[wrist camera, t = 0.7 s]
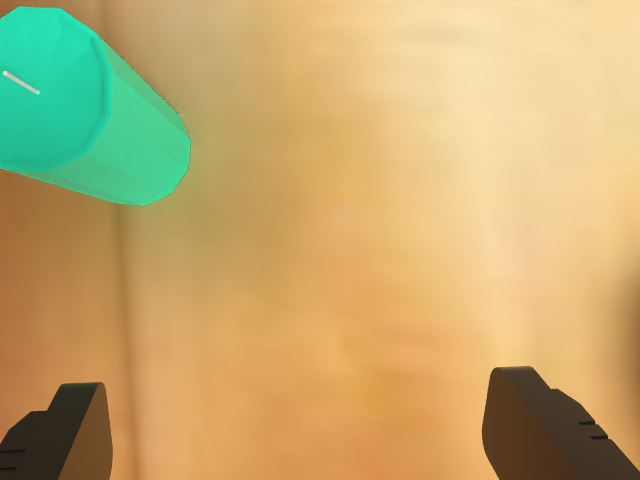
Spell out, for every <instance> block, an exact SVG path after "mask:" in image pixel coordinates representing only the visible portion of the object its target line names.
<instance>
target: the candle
mask: <svg viewBox="0 0 640 480" xmlns="http://www.w3.org/2000/svg"><path fill="white" fill-rule="evenodd" d="M190 146H191V140H190V138H189V135H188V133H187V131H186V129H185V127H184V125H183V122H182V120H181V118H180V116H179V114H178V113H177V112H176V111H175V110H174V109H173V108H172V107H171V106H170V105H169V104H168V103H167V102H165V101H164V100H163V99H162V98H161V97H160V96H159V95H158V94H157V93H156V92H155V91H154V90H153V89H152V88H151V87H150V86H149V85H148V84H147V83H146V82H145V81H144V80H143V79H142V78H141V77H140V76H139V75H138V74H137V73H136V72H135V71H134V70H133V69H132V68H131V67H130V66H129V65H128V64H127V63H126V62H125V61H124V60H123V59H122V58H121V57H120V56H119V55H118V54H117V53H116V52H115V51H114V50H113V49H112V48H111V47H110V46H109V45H108V44H107V43H106V42H105V41H104V40H103V39H102V38H101V37H100V36H99V35H98V34H97V33H95V32H94V31H93V30H91V29H90V28H88V27H87V26H85V25H84V24H82V23H81V22H80V21H78V20H77V19H75V18H74V17H72V16H71V15H69V14H68V13H67V12H65V11H64V10H62V9H61V8H43V7H21V6H18V7H17V8H15V9H14V10H12V11H11V12H9V13H8V14H6V15H5V16H4V17H2V18H1V19H0V168H1V169H3V170H6V171H10V172H13V173H16V174H20V175H23V176H26V177H30V178H33V179H36V180H39V181H43V182H46V183H49V184H53V185H56V186H59V187H63V188H66V189H69V190H72V191H76V192H79V193H82V194H86V195H89V196H92V197H96V198H99V199H102V200H105V201H109V202H112V203H115V204H126V205H138V206H146V205H148V204H150V203H152V202H155V201H157V200H159V199H161V198H163V197H165V196H167V195H169V194H171V193H172V192H173V191H174V189H175V188H176V186H177V185H178V183H179V182H180V181H181V179H182V178H183V176H184V175H185V173H186V172H187V171H188V167H189V156H190Z"/></svg>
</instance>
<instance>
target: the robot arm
mask: <svg viewBox="0 0 640 480" xmlns="http://www.w3.org/2000/svg"><path fill="white" fill-rule="evenodd" d="M482 440H483V446H484V450H485V453H486V456H487V458H488V460H489V462H490V463H491V465H492V467H493V469H494V471H495V472H496V474H497V476H498V478H499V480H640V472H639V470H638V469H637V468H636V467H635V466H634V465H633V464H632V462H631V461H630V460H629V459H628V458H627V457H626V456H625V454H624V453H623V452H622V451H621V450H620V449H619V448H618V446H617V445H616V444H615V443H614V442H613V441H612V440H611V439H608V435H607V434H606V433H605V432H604V430H603V429H602V428H601V427H600V426H599V425H596V424H595V420H594V419H593V418H592V417H591V416H590V414H589V413H588V412H587V411H586V410H585V409H584V408H583V406H582V405H581V404H580V403H578V402H577V401H575V400H574V399H572V398H571V397H569V396H568V395H566V394H565V393H563V392H562V391H560V390H558V389H550V388H549V386H548V385H547V384H546V383H545V382H544V380H543V379H542V378H541V377H540V376H539V374H538V373H537V372H536V371H535V370H534V369H533V368H532V367H530V366H521V367H497V368H494V369H493V370H492V372H491V375H490V381H489V387H488V393H487V400H486V406H485V412H484V418H483V425H482ZM112 457H113V449H112V438H111V430H110V421H109V413H108V405H107V396H106V389H105V386H104V384H103V383H102V382H94V383H69V384H62V385H61V386H60V387H59V389H58V391H57V393H56V394H55V396H54V398H53V400H52V402H51V404H50V406H49V408H48V410H47V411H31V412H30V413H29V414H27V415H26V416H25V417H24V418H23V419H21V420H20V421H19V422H18V423H17V424H15V425H14V426H13V427H12V428H11V429H9V431H8V432H7V434H6V436H5V437H4V439H3V441H2V442H1V444H0V480H109V479H110V474H111V468H112Z"/></svg>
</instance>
